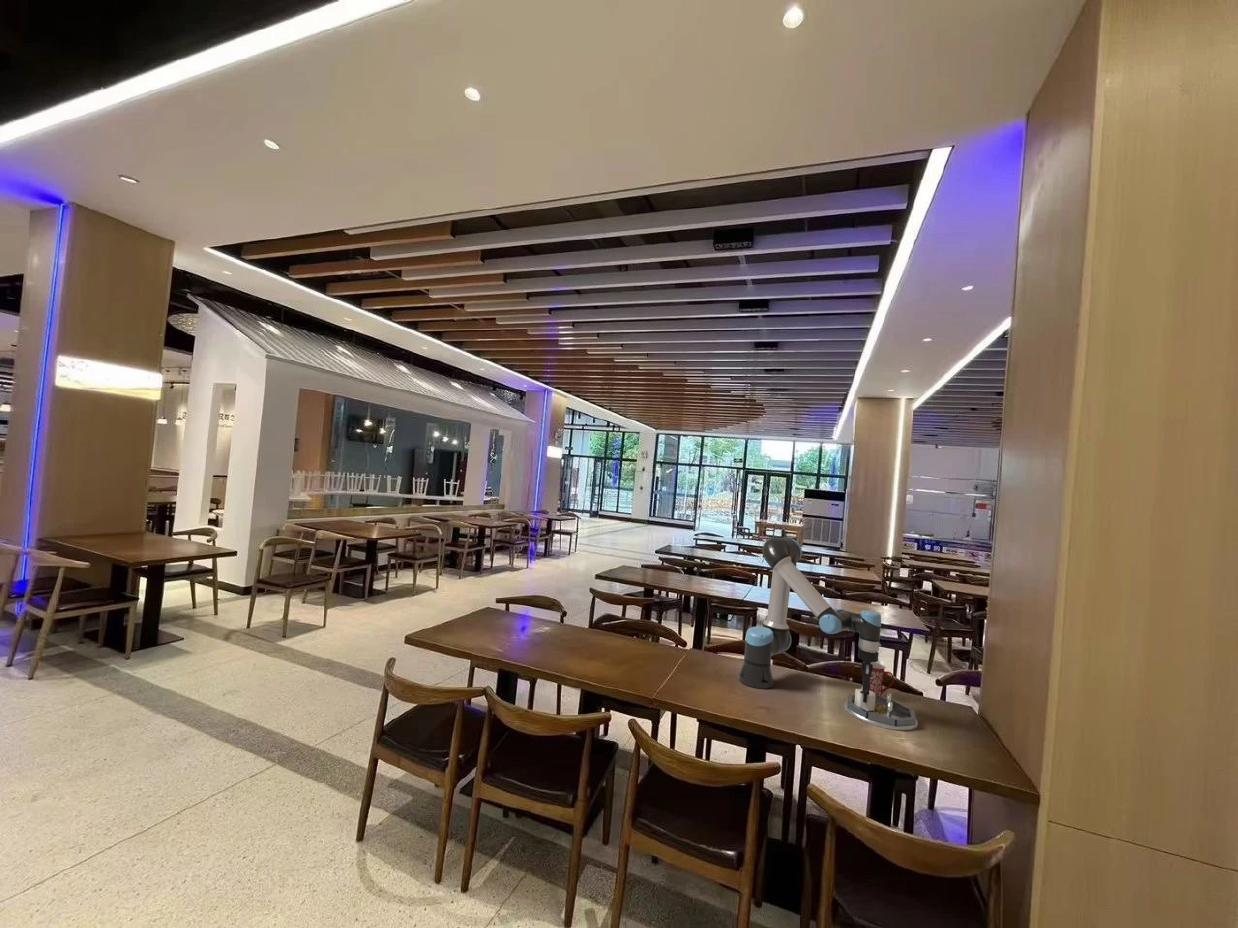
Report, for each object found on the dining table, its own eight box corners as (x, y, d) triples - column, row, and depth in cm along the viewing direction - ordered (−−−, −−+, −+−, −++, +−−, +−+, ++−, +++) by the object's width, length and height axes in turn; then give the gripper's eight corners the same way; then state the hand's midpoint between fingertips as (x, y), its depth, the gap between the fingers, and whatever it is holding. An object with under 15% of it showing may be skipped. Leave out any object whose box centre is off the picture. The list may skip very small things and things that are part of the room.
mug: (859, 695, 231) (862, 664, 232) (861, 689, 239) (863, 659, 239) (891, 704, 225) (894, 672, 226) (892, 697, 233) (894, 666, 233)
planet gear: (854, 707, 212) (855, 692, 213) (854, 701, 219) (855, 687, 219) (874, 712, 209) (875, 697, 210) (874, 706, 216) (875, 691, 216)
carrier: (843, 717, 205) (845, 696, 206) (845, 695, 229) (847, 676, 230) (920, 737, 194) (922, 714, 194) (914, 712, 218) (916, 692, 218)
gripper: (879, 658, 204) (874, 718, 204) (878, 646, 223) (873, 700, 222) (858, 654, 208) (853, 712, 207) (858, 642, 226) (854, 696, 225)
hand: (864, 706), depth 214 cm, fingers closed on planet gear, 7 cm apart
